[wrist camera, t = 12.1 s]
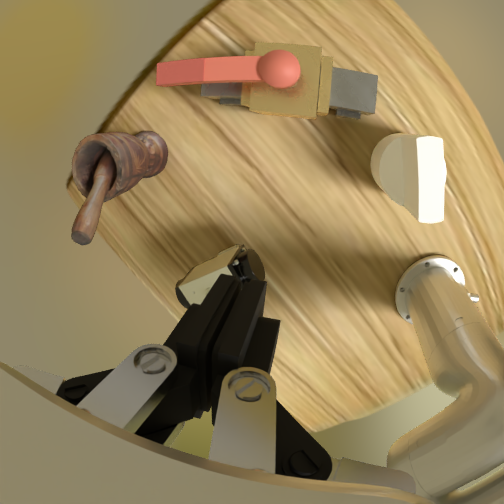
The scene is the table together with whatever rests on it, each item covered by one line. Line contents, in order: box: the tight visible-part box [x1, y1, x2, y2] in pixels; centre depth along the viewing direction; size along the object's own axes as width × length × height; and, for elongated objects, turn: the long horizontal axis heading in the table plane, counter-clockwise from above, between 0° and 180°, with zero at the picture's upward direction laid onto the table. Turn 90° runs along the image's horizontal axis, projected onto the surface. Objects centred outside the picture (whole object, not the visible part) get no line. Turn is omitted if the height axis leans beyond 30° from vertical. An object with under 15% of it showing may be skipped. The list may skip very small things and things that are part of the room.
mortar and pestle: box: [71, 131, 168, 245], centre depth 34 cm, size 12×9×20 cm
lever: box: [156, 50, 301, 89], centre depth 24 cm, size 14×4×2 cm, turn 88°
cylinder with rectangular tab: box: [371, 133, 446, 223], centre depth 31 cm, size 9×9×12 cm
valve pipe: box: [201, 42, 378, 120], centre depth 30 cm, size 20×8×12 cm, turn 85°
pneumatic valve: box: [175, 245, 265, 308], centre depth 41 cm, size 6×12×12 cm, turn 119°
